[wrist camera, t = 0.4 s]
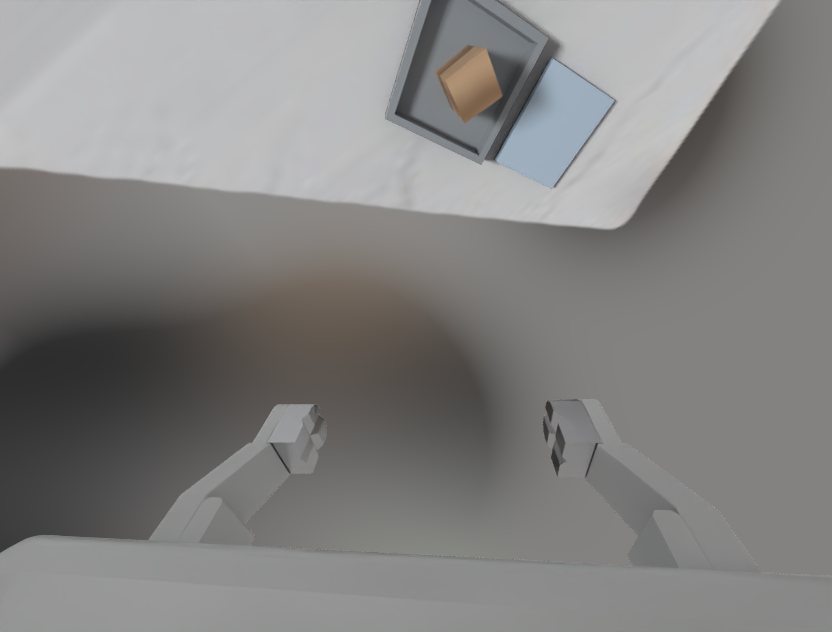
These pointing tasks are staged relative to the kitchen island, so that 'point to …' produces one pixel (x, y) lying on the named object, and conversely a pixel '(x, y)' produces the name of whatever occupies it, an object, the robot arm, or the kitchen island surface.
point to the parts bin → (436, 44)
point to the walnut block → (469, 82)
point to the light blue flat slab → (553, 124)
